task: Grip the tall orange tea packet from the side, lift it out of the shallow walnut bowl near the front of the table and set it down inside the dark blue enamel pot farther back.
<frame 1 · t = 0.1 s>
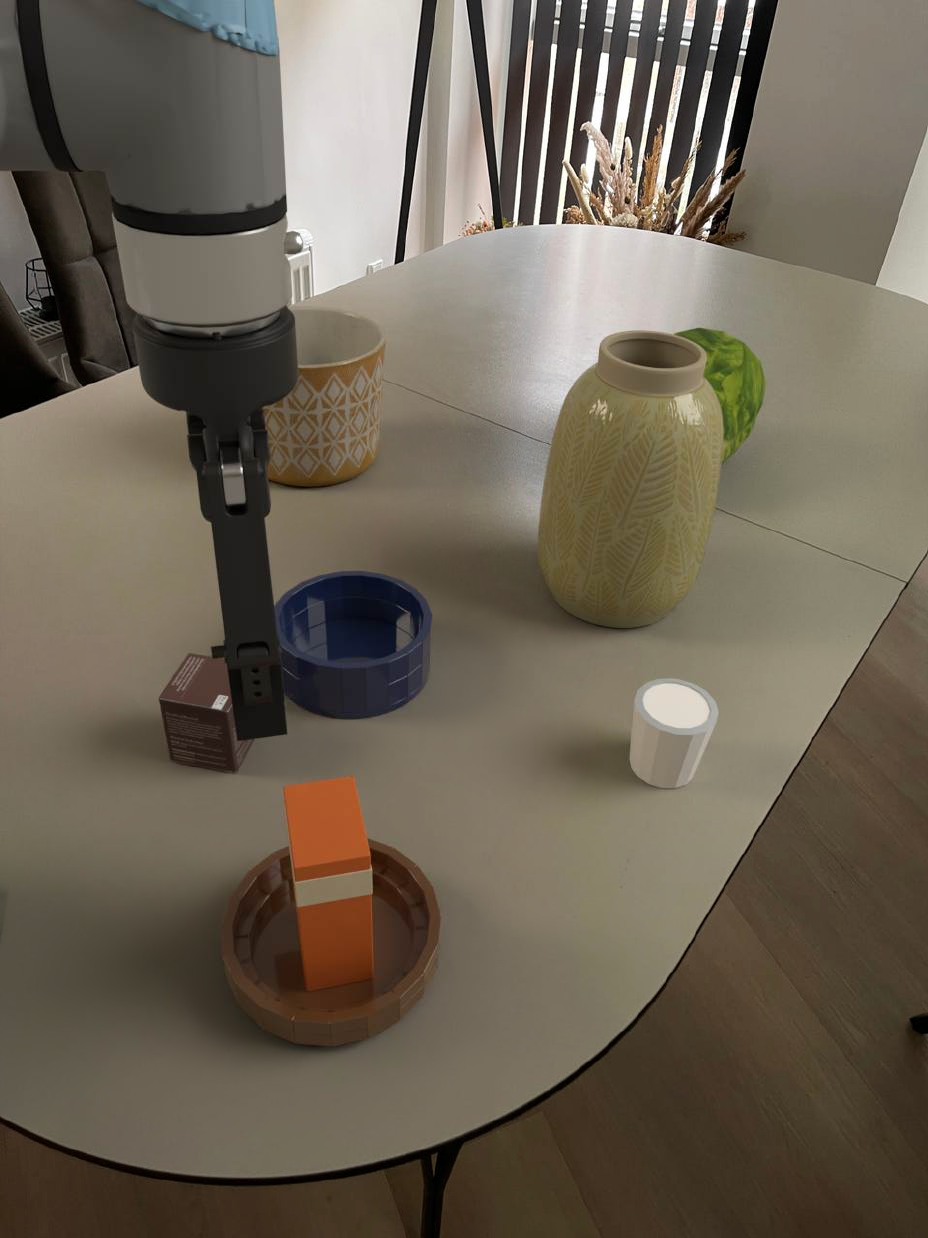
hand: (253, 656, 57), 22 cm above the table, tool pointing down, fingers open, 13 cm apart
white cylinder: (661, 766, 82), on the table
lettuce: (673, 472, 124), on the table
vase: (611, 592, 102), on the table
box: (217, 745, 82), on the table
bowl: (334, 950, 66), on the table
packet: (333, 944, 66), point 1 cm above the table, touching bowl
pot: (353, 666, 90), on the table
planter: (311, 459, 123), on the table
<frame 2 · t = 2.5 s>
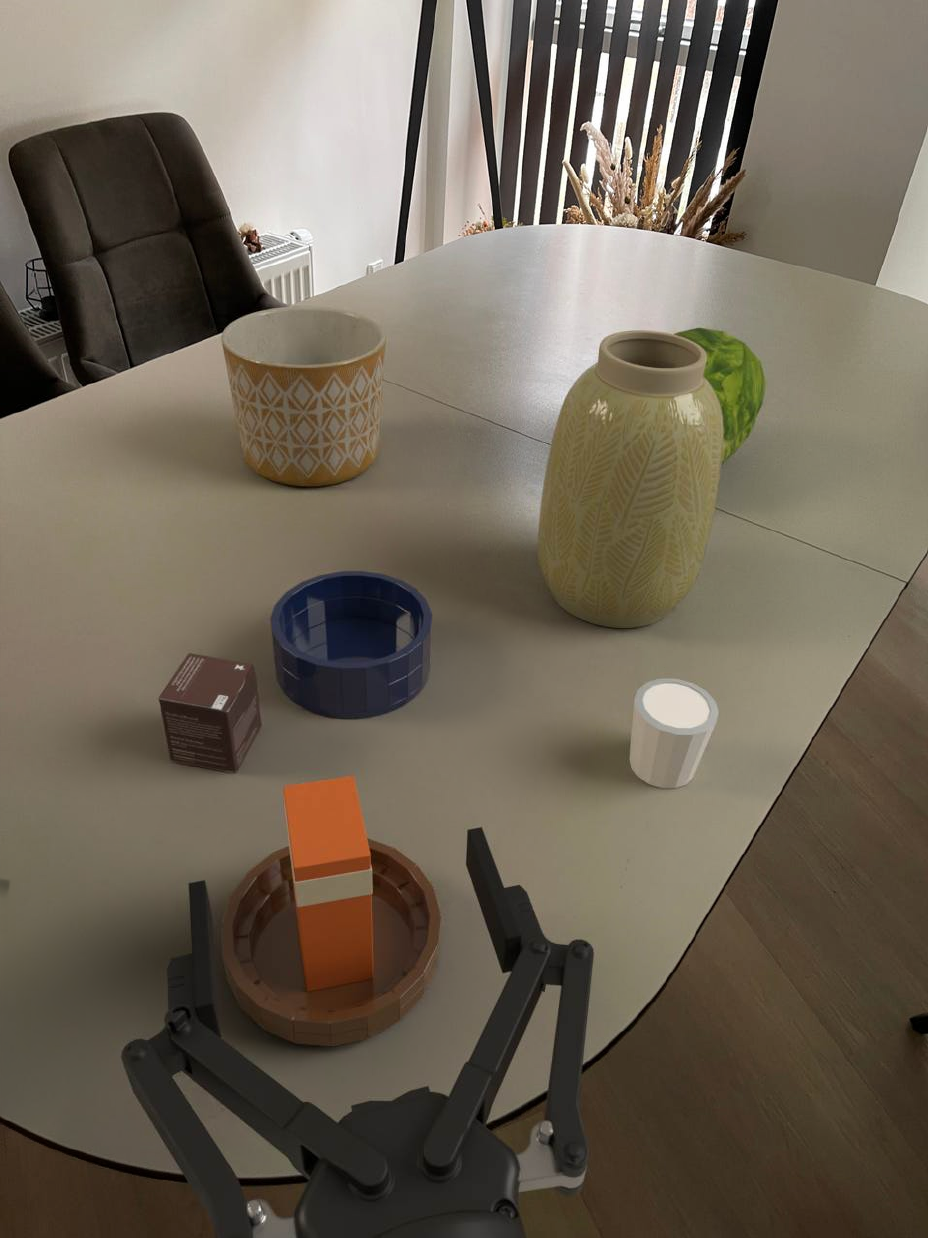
hand: (341, 871, 47), 20 cm above the table, tool horizontal, fingers open, 13 cm apart
nothing on the table moved.
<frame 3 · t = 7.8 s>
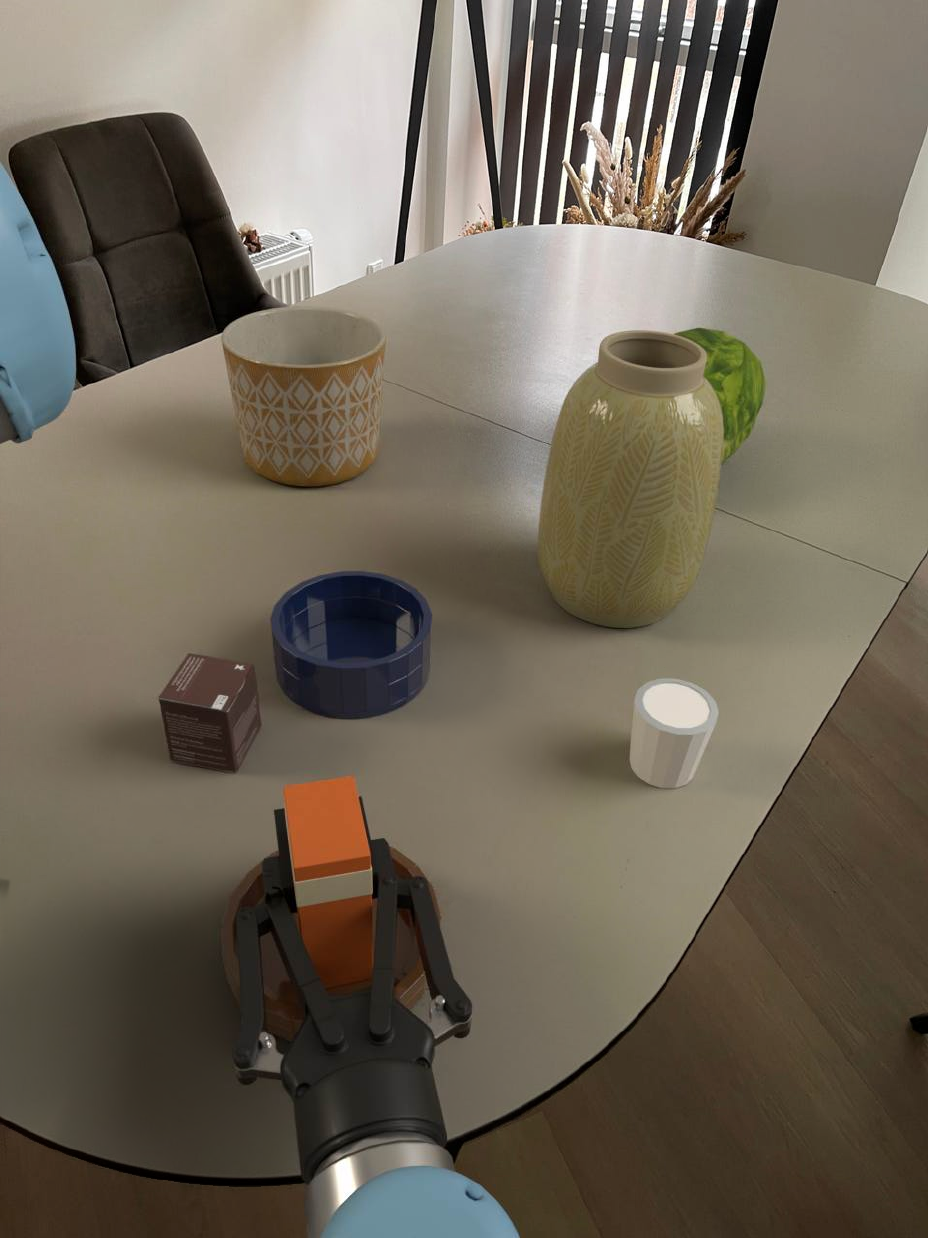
hand: (319, 816, 65), 8 cm above the table, tool horizontal, fingers closed on packet, 4 cm apart
packet: (333, 944, 66), point 1 cm above the table, touching bowl, gripper
everything else where it was.
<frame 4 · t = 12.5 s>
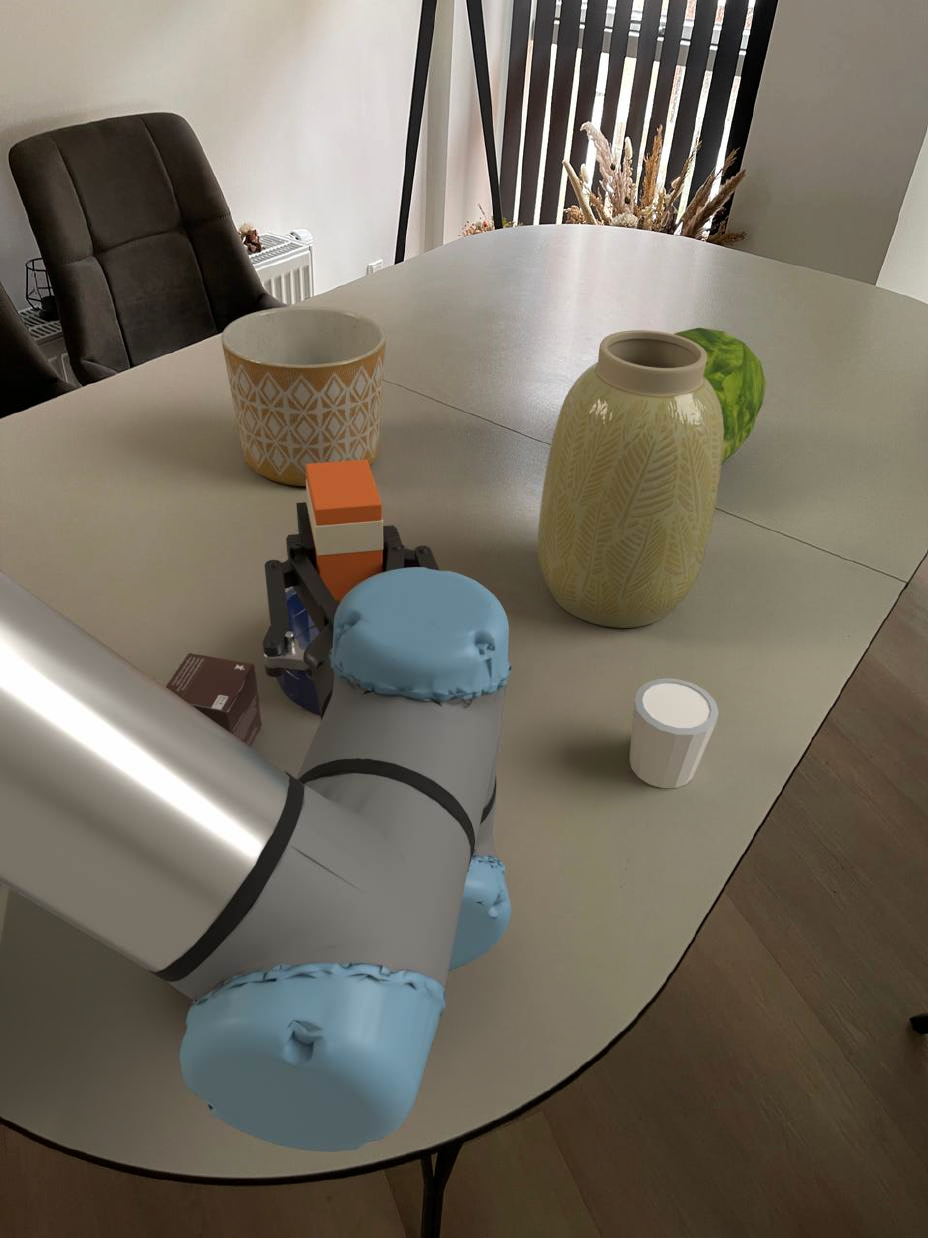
hand: (336, 515, 74), 20 cm above the table, tool horizontal, fingers closed on packet, 4 cm apart
packet: (348, 629, 74), point 13 cm above the table, touching gripper
everything else where it was.
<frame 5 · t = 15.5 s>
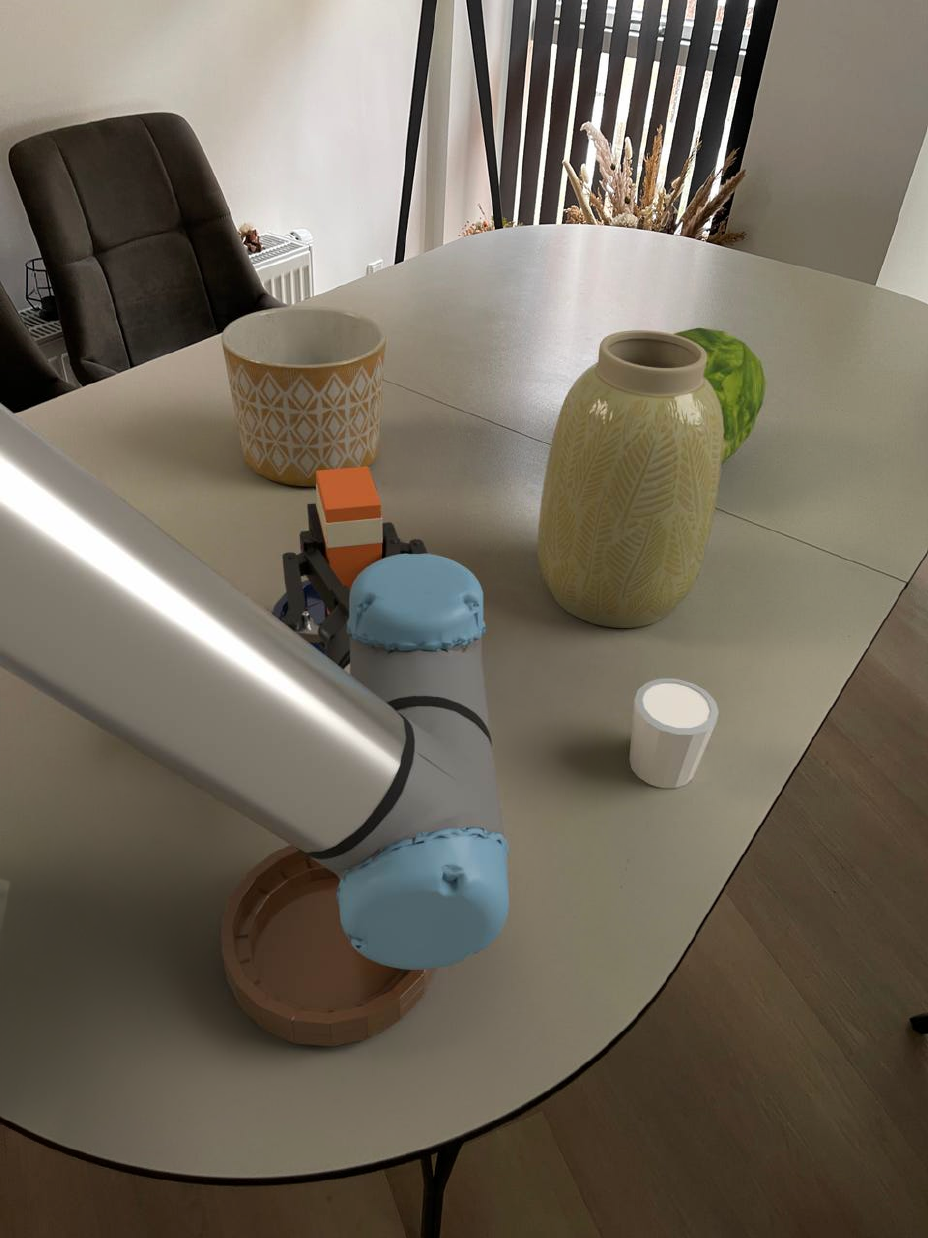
hand: (341, 514, 86), 14 cm above the table, tool horizontal, fingers closed on packet, 4 cm apart
packet: (352, 611, 86), point 6 cm above the table, touching gripper
everything else where it was.
when the fingers open (8 cm above the table, at t = 17.5 s): packet stays where it is, resting on pot.
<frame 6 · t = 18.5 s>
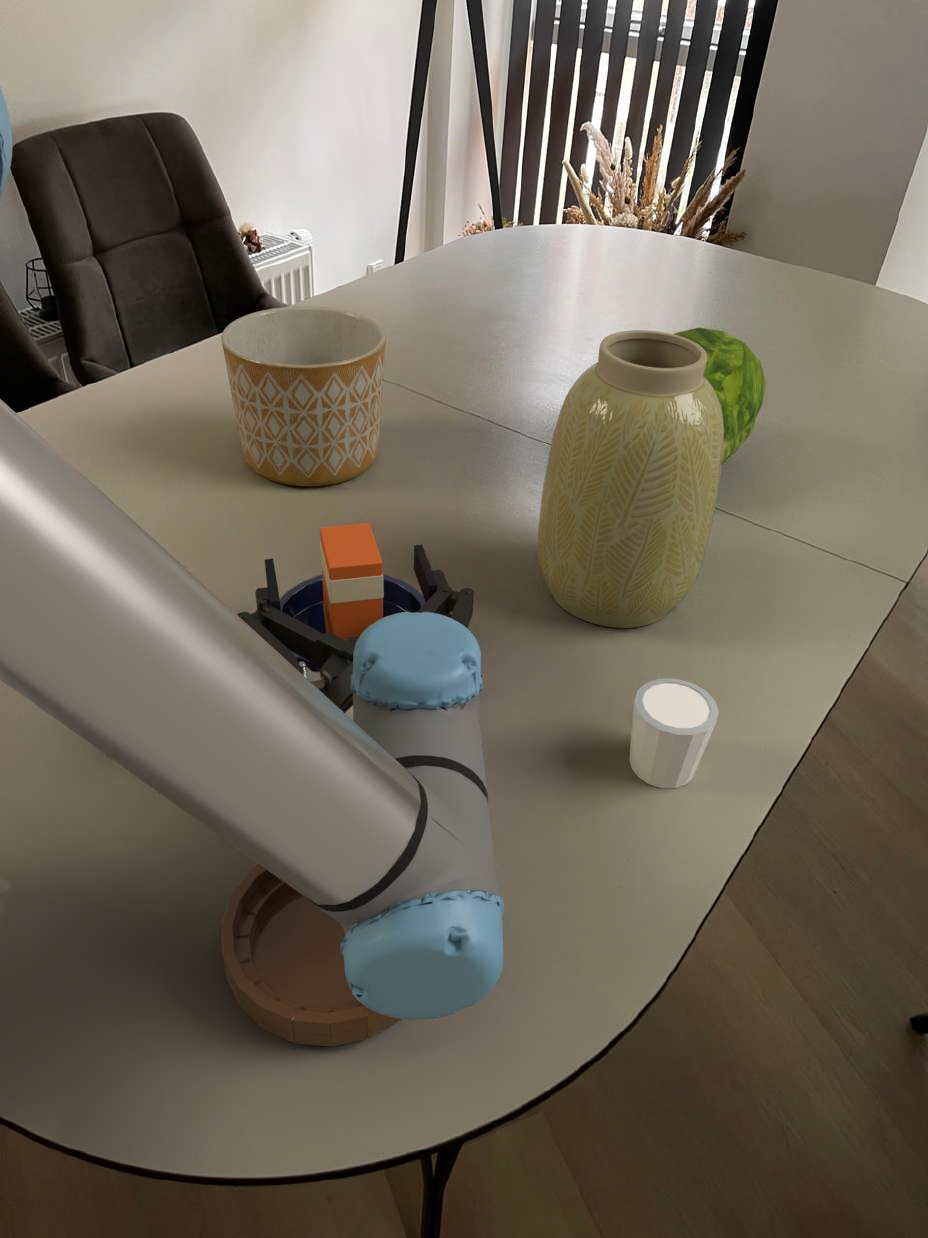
hand: (345, 563, 87), 10 cm above the table, tool horizontal, fingers open, 13 cm apart
packet: (354, 659, 90), point 1 cm above the table, touching pot
everything else where it was.
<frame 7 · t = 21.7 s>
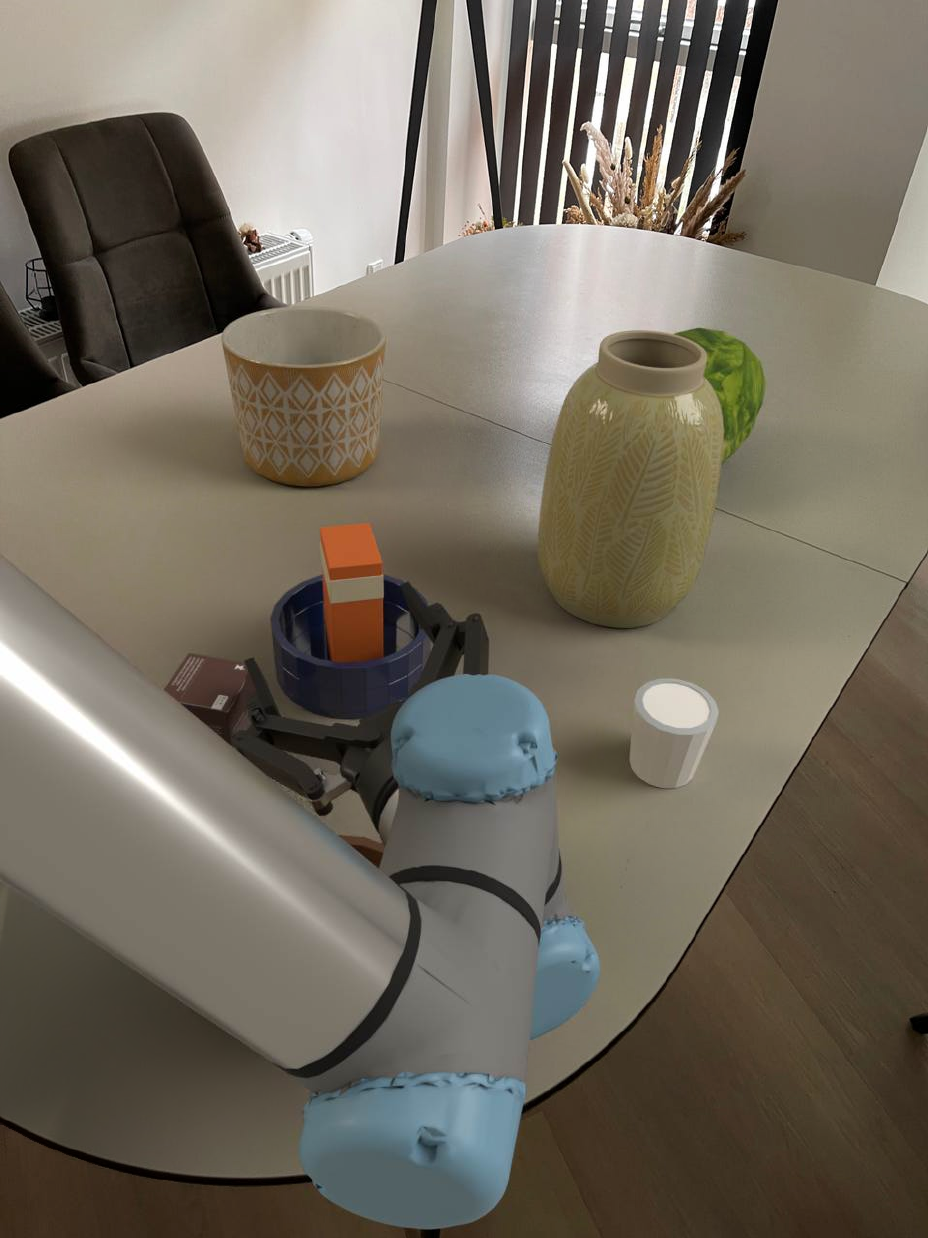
hand: (333, 632, 76), 11 cm above the table, tool horizontal, fingers open, 13 cm apart
nothing on the table moved.
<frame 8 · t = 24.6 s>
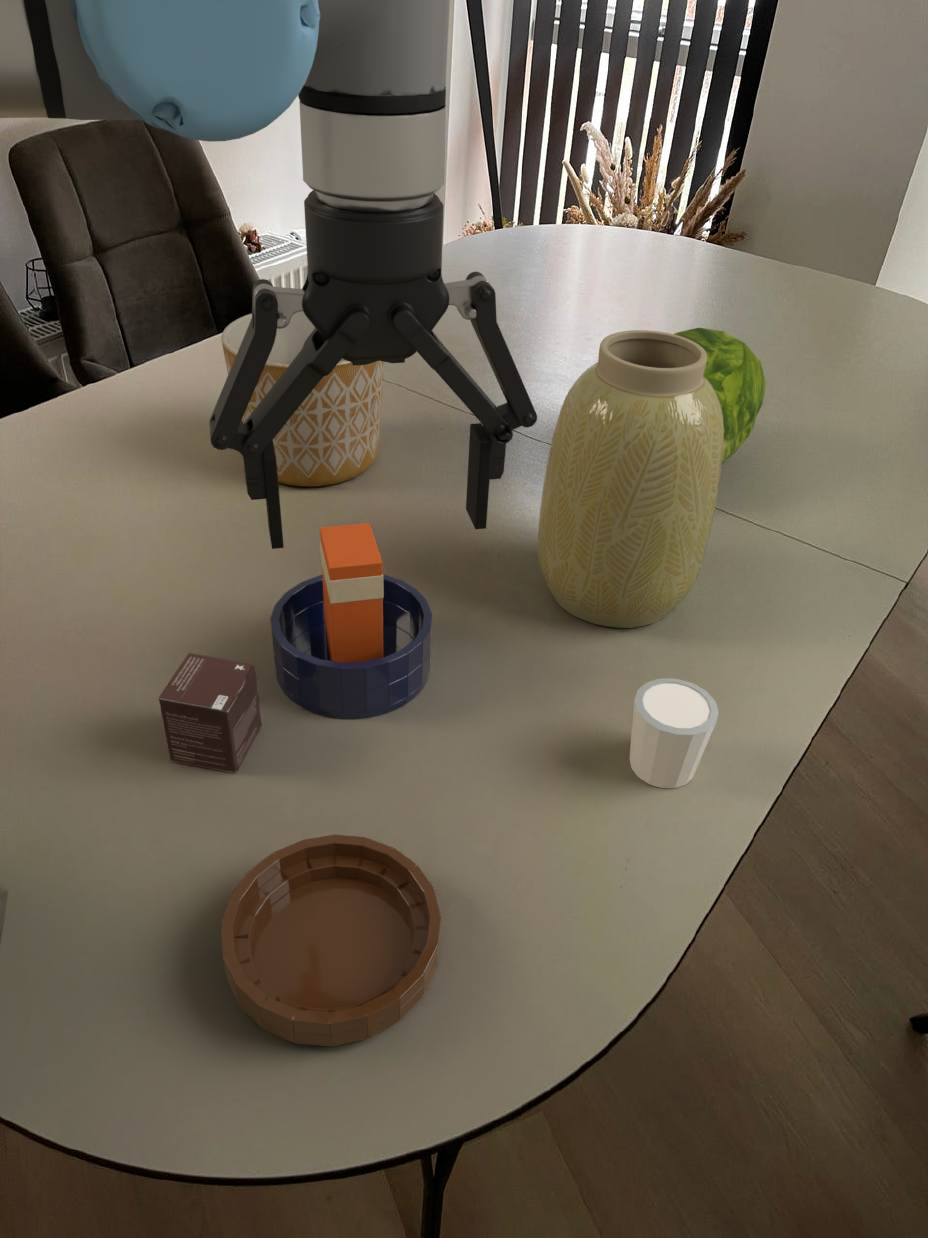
hand: (378, 528, 64), 25 cm above the table, tool pointing down, fingers open, 13 cm apart
nothing on the table moved.
at the end: packet inside the target area in the pot (0.1 cm from its centre), point 0.8 cm above the pot's base; the gripper is holding nothing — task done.
